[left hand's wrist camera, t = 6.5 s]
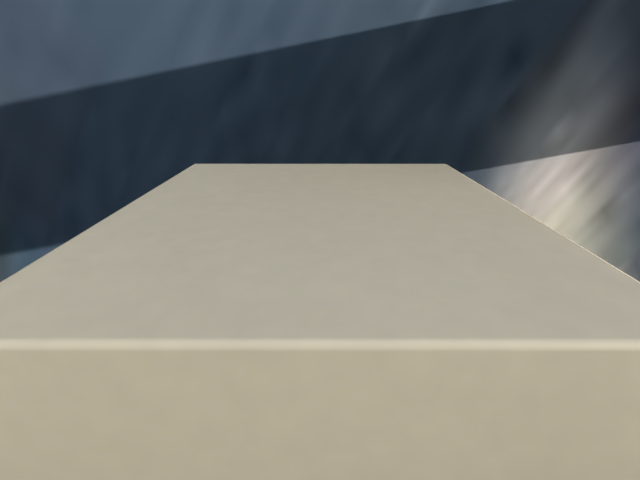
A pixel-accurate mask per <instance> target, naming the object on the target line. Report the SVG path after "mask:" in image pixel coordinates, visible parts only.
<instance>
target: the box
mask: <svg viewBox="0 0 640 480" xmlns="http://www.w3.org/2000/svg"><path fill="white" fill-rule="evenodd" d="M0 480H640V282H639V281H637V280H635V279H634V278H632V277H630V276H629V275H627V274H625V273H624V272H622V271H621V270H619V269H617V268H616V267H614V266H612V265H611V264H609V263H607V262H606V261H604V260H603V259H601V258H599V257H598V256H596V255H594V254H593V253H591V252H589V251H588V250H586V249H584V248H583V247H581V246H580V245H578V244H576V243H575V242H573V241H571V240H570V239H568V238H566V237H565V236H563V235H562V234H560V233H558V232H557V231H555V230H553V229H552V228H550V227H548V226H547V225H545V224H543V223H542V222H540V221H539V220H537V219H535V218H534V217H532V216H530V215H529V214H527V213H525V212H524V211H522V210H521V209H519V208H517V207H516V206H514V205H512V204H511V203H509V202H507V201H506V200H504V199H503V198H501V197H499V196H498V195H496V194H494V193H493V192H491V191H489V190H488V189H486V188H484V187H483V186H481V185H480V184H478V183H476V182H475V181H473V180H471V179H470V178H468V177H466V176H465V175H463V174H462V173H460V172H458V171H457V170H455V169H453V168H452V167H450V166H448V165H447V164H194V165H192V166H190V167H189V168H187V169H185V170H184V171H182V172H180V173H179V174H177V175H176V176H174V177H172V178H171V179H169V180H167V181H166V182H164V183H162V184H161V185H159V186H157V187H156V188H154V189H153V190H151V191H149V192H148V193H146V194H144V195H143V196H141V197H139V198H138V199H136V200H135V201H133V202H131V203H130V204H128V205H126V206H125V207H123V208H121V209H120V210H118V211H116V212H115V213H113V214H112V215H110V216H108V217H107V218H105V219H103V220H102V221H100V222H98V223H97V224H95V225H93V226H92V227H90V228H89V229H87V230H85V231H84V232H82V233H80V234H79V235H77V236H75V237H74V238H72V239H71V240H69V241H67V242H66V243H64V244H62V245H61V246H59V247H57V248H56V249H54V250H52V251H51V252H49V253H48V254H46V255H44V256H43V257H41V258H39V259H38V260H36V261H34V262H33V263H31V264H29V265H28V266H26V267H25V268H23V269H21V270H20V271H18V272H16V273H15V274H13V275H11V276H10V277H8V278H6V279H5V280H3V281H2V282H0Z"/></svg>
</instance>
